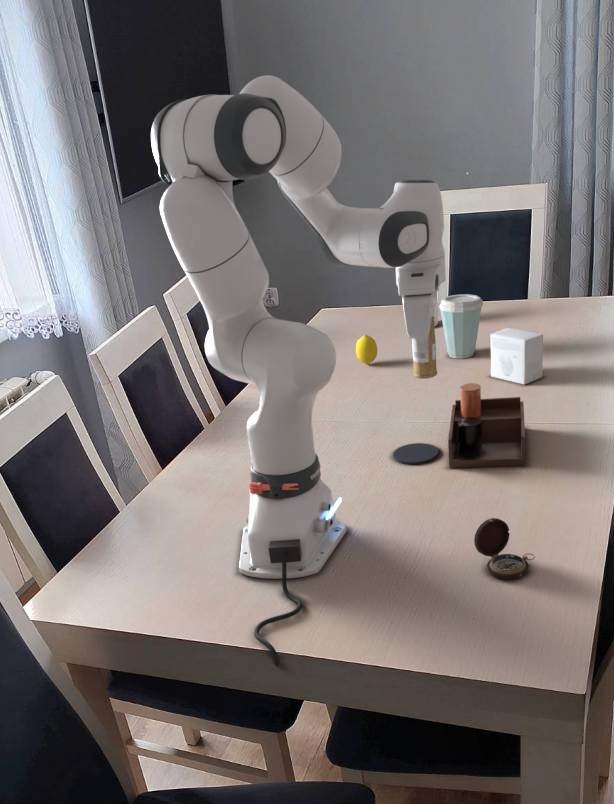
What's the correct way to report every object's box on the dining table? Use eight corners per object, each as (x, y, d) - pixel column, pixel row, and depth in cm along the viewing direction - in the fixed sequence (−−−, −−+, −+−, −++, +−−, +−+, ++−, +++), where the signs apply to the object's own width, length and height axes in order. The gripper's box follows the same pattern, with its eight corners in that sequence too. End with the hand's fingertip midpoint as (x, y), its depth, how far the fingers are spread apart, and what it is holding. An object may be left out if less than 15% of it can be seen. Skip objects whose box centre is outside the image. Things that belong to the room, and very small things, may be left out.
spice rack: (525, 465, 165) (525, 431, 162) (449, 468, 169) (448, 435, 166) (523, 428, 180) (523, 396, 176) (453, 431, 184) (452, 400, 180)
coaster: (437, 463, 172) (436, 461, 171) (391, 465, 174) (390, 462, 174) (439, 444, 179) (439, 442, 179) (395, 446, 182) (395, 444, 181)
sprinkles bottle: (442, 374, 166) (440, 304, 160) (424, 381, 164) (421, 310, 158) (425, 369, 170) (422, 301, 163) (408, 376, 168) (404, 307, 162)
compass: (504, 585, 132) (503, 544, 129) (473, 563, 139) (471, 523, 135) (547, 568, 135) (548, 527, 131) (514, 547, 141) (514, 507, 138)
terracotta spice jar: (481, 418, 175) (480, 390, 172) (460, 419, 176) (459, 391, 173) (481, 410, 178) (480, 382, 175) (461, 411, 179) (460, 383, 177)
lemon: (382, 361, 228) (379, 331, 224) (372, 369, 224) (370, 338, 220) (363, 360, 231) (360, 331, 227) (353, 367, 227) (350, 338, 223)
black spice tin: (481, 458, 171) (481, 425, 167) (458, 459, 172) (457, 426, 168) (482, 448, 174) (481, 416, 171) (459, 449, 175) (458, 417, 172)
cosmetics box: (543, 376, 202) (544, 332, 197) (524, 385, 199) (524, 341, 194) (508, 368, 210) (508, 325, 205) (489, 376, 207) (489, 333, 202)
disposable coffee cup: (451, 346, 230) (449, 289, 222) (490, 349, 224) (490, 290, 216) (434, 360, 223) (431, 302, 215) (473, 363, 217) (472, 303, 209)
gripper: (408, 261, 167) (412, 331, 174) (396, 289, 150) (401, 366, 157) (441, 258, 165) (444, 329, 172) (434, 286, 149) (437, 364, 155)
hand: (423, 347), depth 164 cm, fingers closed on sprinkles bottle, 4 cm apart
